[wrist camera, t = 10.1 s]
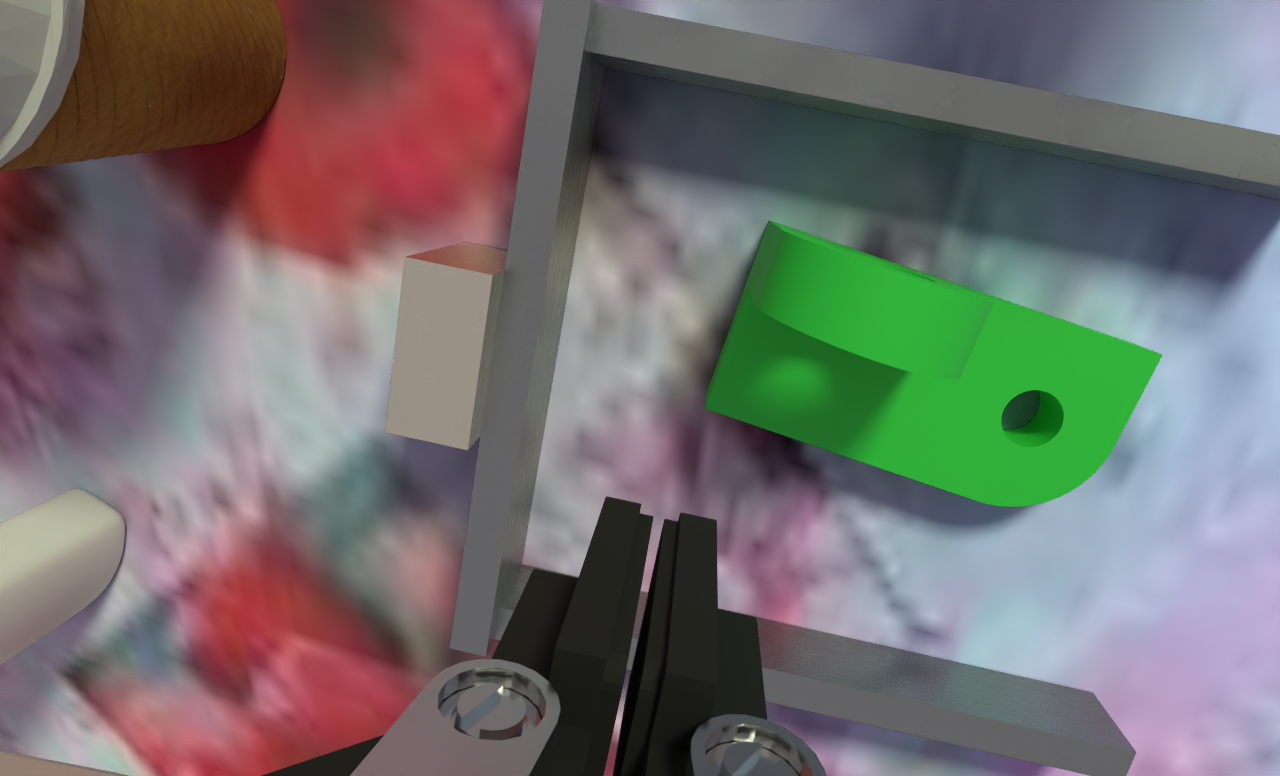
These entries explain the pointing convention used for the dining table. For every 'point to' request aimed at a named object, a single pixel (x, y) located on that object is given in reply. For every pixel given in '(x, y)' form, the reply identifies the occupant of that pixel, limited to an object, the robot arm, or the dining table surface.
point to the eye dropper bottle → (54, 565)
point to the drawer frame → (535, 302)
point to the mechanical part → (921, 373)
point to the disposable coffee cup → (132, 75)
